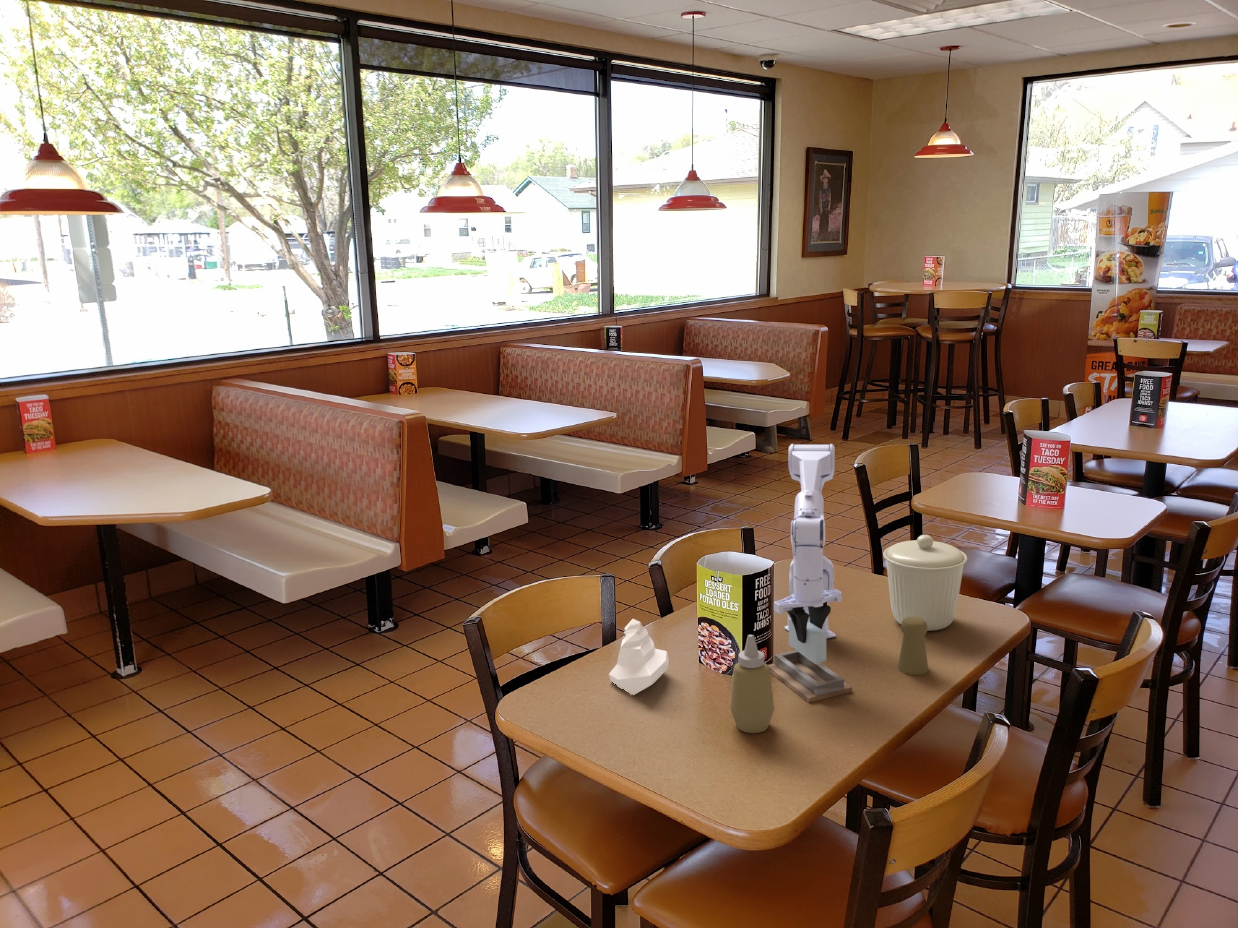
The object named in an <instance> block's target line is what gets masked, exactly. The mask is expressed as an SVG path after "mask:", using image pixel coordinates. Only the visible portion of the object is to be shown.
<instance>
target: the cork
mask: <svg viewBox="0 0 1238 928" xmlns="http://www.w3.org/2000/svg"><path fill="white" fill-rule="evenodd" d="M900 629H901V632H902V633H903V635H902V640H901V647H900V652H899V653H900V654H899V659H898V663H897V664H898V665H897V669H898V671H900V672H902V673H903V674H905V675H911V676H921V675H925V674H927V673H928V672H929V664H928V655H927V647H926V637H925V635H926V634H927V632H928V631H927V623H926V621H925V620H924V619H922V618H919V617H907V618H904V619H903V621H902V623H901V624H900Z"/></svg>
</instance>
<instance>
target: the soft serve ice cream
mask: <svg viewBox="0 0 1238 928" xmlns="http://www.w3.org/2000/svg"><path fill="white" fill-rule="evenodd" d="M623 629H624V632H623V634H625V637H623V639H622V640H621V643H620V644H621V645H620V649H619V652H618V657H617V663H616V664H615V665H614V667H613V668H612V669H611V671H610V672H609V673H608V676H609V681H610V682H611V681H612V682H613V683H614V684H613V683H612V682H611V683H612V684H613V685H615V684H616V685H617V686H616V685H615V686H616V687H618V688H620V689H621V690H622V689H624V690H625V691H627V692H629V693H631V694H633V696H635V695H636V694H638V693H640V692H641V691H643V690H646V689H647V688H649V687H650V686H652V685H653V684H654V683H655V682H656V681H657V680H658V679H659V678H660V677H661V676H662V675H663V674H664V673H665V672H666V671H668V668H669V661H670V660H669V655H668V651H667V650H662V649H658V648H656V647H655V642H654V640H653V639H652V637H650V635H649V633H648V630H647V628H646V627H644V626H643V625H642V622H641V621H640V620H637V619H634V618H632V619H631V620H630V621H629V622H628V624H626V626H625V627H624V628H623ZM624 690H623V691H624ZM625 691H624V692H625Z"/></svg>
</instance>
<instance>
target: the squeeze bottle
mask: <svg viewBox="0 0 1238 928" xmlns="http://www.w3.org/2000/svg"><path fill="white" fill-rule="evenodd" d="M764 654H765V653H764V652H763V651H761V650H758V645H757V642H756V638H755V635H754V634H748V635H747V638H746V642H745V646H744V650H742V651H739V653H738V655H737V656H738V659H737V660H738V662H737V663H735V664H734V666H733V670H732V682H731V693H730V705H729V709H730V711H731V715H732V717H733V720H734V722H735V724H736V728H737V729H739V730H740V731H741V732H744V733H747V734H748V733H749V734H759V733H762V732H765V731H767V729H768V727H769V725H770V722H771V720H772V717H773V714H774V711H775V704H774V703H775V702H774V695H773V688H772V680H771V679H772V678H771V673H770V669H769V666H768V665H769V664H767V663H766V662H765V655H764Z"/></svg>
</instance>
